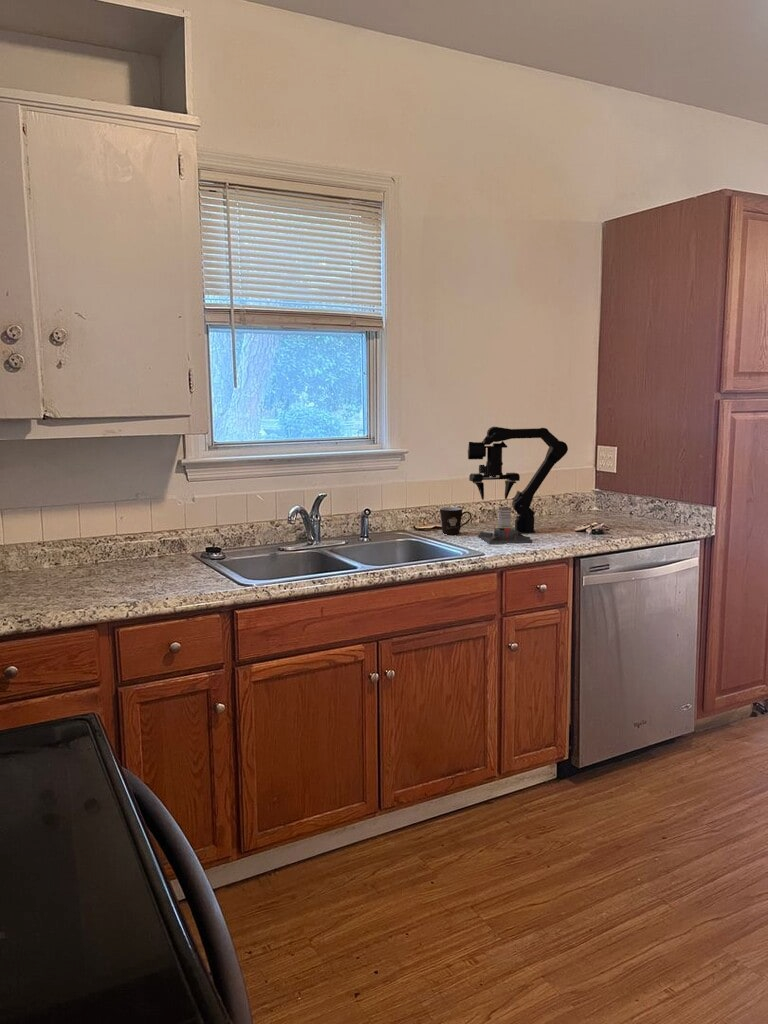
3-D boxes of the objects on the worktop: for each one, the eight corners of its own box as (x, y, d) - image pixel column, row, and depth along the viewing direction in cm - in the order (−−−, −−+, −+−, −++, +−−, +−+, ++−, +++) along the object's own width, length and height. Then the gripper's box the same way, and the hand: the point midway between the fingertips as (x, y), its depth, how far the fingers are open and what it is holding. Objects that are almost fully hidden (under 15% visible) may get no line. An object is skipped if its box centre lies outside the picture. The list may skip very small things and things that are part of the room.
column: (507, 525, 290) (507, 507, 289) (510, 527, 286) (510, 508, 285) (498, 526, 289) (498, 507, 288) (501, 527, 286) (501, 508, 285)
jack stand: (518, 535, 297) (518, 523, 297) (532, 542, 282) (532, 529, 281) (477, 536, 295) (477, 524, 294) (489, 544, 279) (489, 531, 279)
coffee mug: (437, 535, 299) (437, 509, 297) (443, 532, 307) (443, 506, 305) (467, 537, 295) (467, 510, 293) (472, 533, 303) (472, 507, 302)
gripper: (511, 457, 310) (511, 496, 312) (465, 458, 308) (465, 497, 310) (520, 459, 299) (519, 499, 302) (473, 460, 297) (472, 501, 299)
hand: (494, 499), depth 303 cm, fingers open, 9 cm apart
